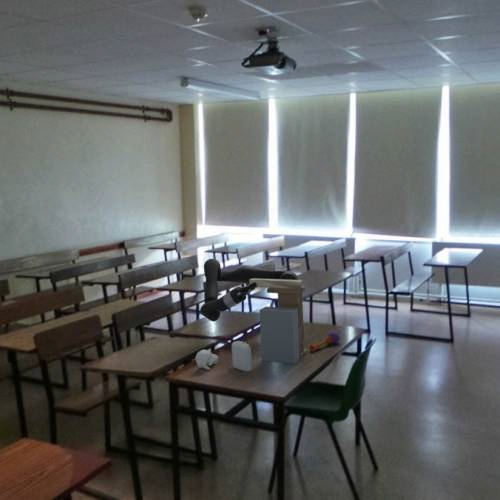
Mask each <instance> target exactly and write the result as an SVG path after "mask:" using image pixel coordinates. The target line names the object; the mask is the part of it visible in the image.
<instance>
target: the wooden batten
mask: <svg viewBox="0 0 500 500" xmlns="http://www.w3.org/2000/svg"><path fill="white" fill-rule="evenodd" d="M253 282H256V284H257V286H256V287H257V288H288V289H302V288H303V287H304V280H303V279H298V280H283V279H255V278H252V279H250V280H249V283H250V284H252V283H253Z"/></svg>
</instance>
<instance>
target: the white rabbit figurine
mask: <svg viewBox="0 0 500 500" xmlns="http://www.w3.org/2000/svg"><path fill="white" fill-rule="evenodd" d="M194 359H195V362H196V364H197V367H198V368H199V369H204V370H209V371H210V369H211V368H210V366H212V365H216V364H217V363H218V361H219V357H218V355H217V354H213V353H212V352H211V351H209V350H207V349H202V350H200V351H198V352H197V353H196V356H195V357H194ZM207 364H208V365H207Z"/></svg>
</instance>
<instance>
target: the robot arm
mask: <svg viewBox="0 0 500 500" xmlns="http://www.w3.org/2000/svg"><path fill="white" fill-rule="evenodd" d="M221 267H222V266H221V263H220V261H219V260H218V259H216V258H209V259H207V260H205V262H204V264H203V274H204V277H205V285H204V297H203V300H204V301H203V302H204V303H203V304H202V306H200V309H199V312H200V315H202V316H204V317H205V318H206V319H208V320H209V322H216V321H218V320H219V319H220V317H221V313H225V312H227V311H228V310H230V309H231V308H233V307H236V306H238V305H239V304H241V303H242V302H244V301H245V300H247V295H248V294H251V293H252V292H253V291H255V290H256V288H258V287H256V286H257V284H256V282H253V283H252V284H250V283H249V280H250V279H252V278H255V279H283V280H299V278H298V276H297V274H296V273H295V272H294V271H292V270H273V269H267V268H260V267H254V266H253V267H252V266H241V267H238V268H236V269H234V270H222V269H221ZM218 282H228V283H229V282H230V283H231V282H232V283H239V284H240V283H241V284H246V285H244V286H243V287H241V286H236V287H234V288H233V289H231V290H230V291H228V292H227V293H225V294H224V295H223V296H220V297H218V296H219V287H218Z"/></svg>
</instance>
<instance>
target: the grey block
mask: <svg viewBox="0 0 500 500" xmlns="http://www.w3.org/2000/svg"><path fill="white" fill-rule="evenodd" d="M259 326H260V327H259V331H260V352H261V361H262V362H263V361H264V362H271V363H280V364H281V363H282V364H290V365H295V364H296V363H297V362H299V360H300V359H301V357H300V354H299V328H298V308H283V307H277V306H264V307H262V308H260V309H259Z"/></svg>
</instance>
